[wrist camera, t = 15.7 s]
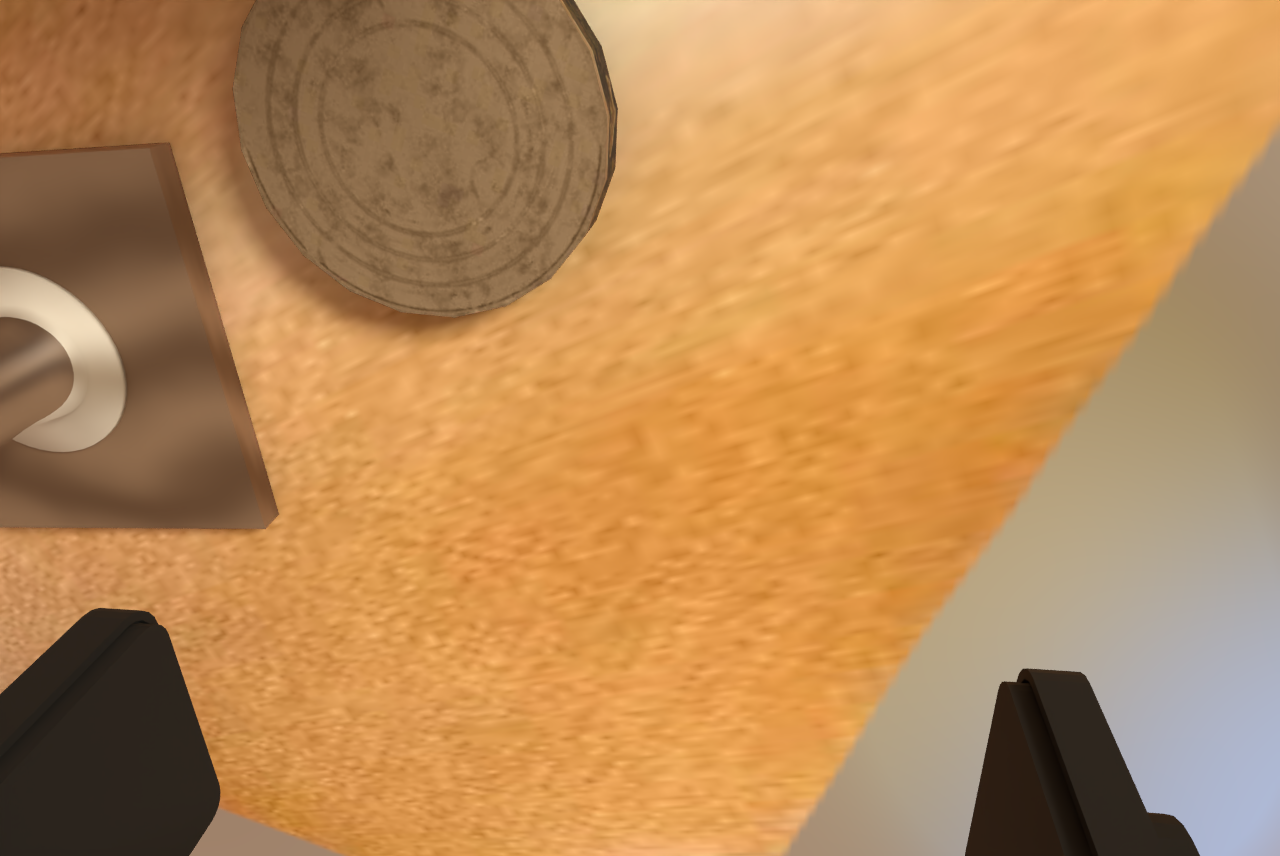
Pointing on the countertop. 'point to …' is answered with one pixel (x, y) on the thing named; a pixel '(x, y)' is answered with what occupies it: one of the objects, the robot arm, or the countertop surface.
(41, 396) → the shiny metal tumbler
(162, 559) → the countertop surface
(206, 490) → the coaster board
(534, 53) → the brown flat disc
